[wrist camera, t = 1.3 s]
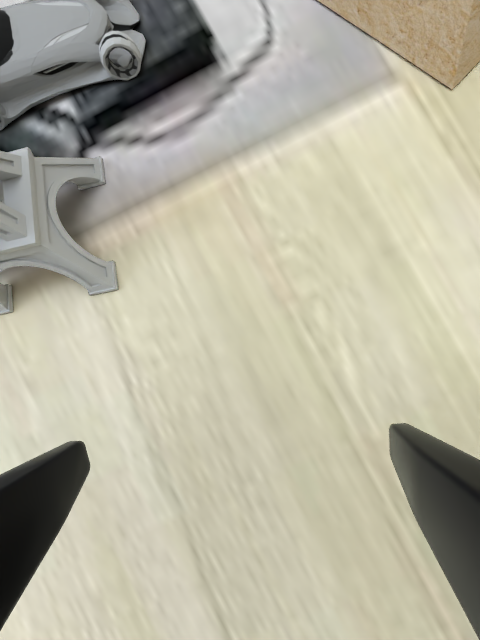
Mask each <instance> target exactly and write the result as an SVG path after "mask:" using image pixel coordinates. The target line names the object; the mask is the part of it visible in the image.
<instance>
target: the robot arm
mask: <svg viewBox="0 0 480 640" xmlns="http://www.w3.org/2000/svg"><path fill="white" fill-rule="evenodd" d="M389 442H390V456H391V460H392V462H393V465H394V467H395V470H396V472H397V475H398V477H399V480H400V482H401V485H402V487H403V490H404V492H405V495H406V497H407V499H408V502H409V504H410V507H411V509H412V512H413V514H414V516H415V518H416V520H417V522H418V524H419V526H420V528H421V530H422V532H423V534H424V536H425V538H426V540H427V542H428V544H429V545H430V547H431V549H432V551H433V553H434V555H435V557H436V559H437V561H438V562H439V564H440V566H441V568H442V570H443V572H444V574H445V576H446V578H447V580H448V581H449V583H450V585H451V587H452V589H453V591H454V593H455V595H456V597H457V598H458V600H459V602H460V604H461V606H462V608H463V610H464V612H465V614H466V616H467V617H468V619H469V621H470V623H471V625H472V627H473V629H474V631H475V633H476V634H477V636H478V638H479V640H480V460H479V459H477V458H475V457H473V456H471V455H469V454H467V453H465V452H463V451H461V450H459V449H457V448H455V447H453V446H451V445H449V444H447V443H445V442H443V441H441V440H439V439H437V438H435V437H433V436H431V435H429V434H427V433H425V432H423V431H421V430H419V429H417V428H415V427H413V426H411V425H409V424H406V423H401V424H391V425H390V428H389ZM89 470H90V462H89V458H88V454H87V451H86V447H85V444H84V443H83V442H82V441H70V442H67V443H65V444H63V445H61V446H59V447H56V448H54V449H52V450H50V451H48V452H46V453H44V454H42V455H40V456H38V457H36V458H34V459H32V460H30V461H28V462H25V463H23V464H21V465H19V466H17V467H15V468H13V469H11V470H9V471H7V472H5V473H3V474H1V475H0V631H1V629H2V627H3V625H4V624H5V622H6V620H7V619H8V617H9V615H10V614H11V612H12V610H13V609H14V607H15V605H16V604H17V602H18V600H19V598H20V597H21V595H22V593H23V592H24V590H25V588H26V587H27V585H28V583H29V582H30V580H31V578H32V577H33V575H34V573H35V572H36V570H37V568H38V566H39V565H40V563H41V561H42V560H43V558H44V556H45V555H46V553H47V551H48V550H49V548H50V546H51V545H52V543H53V541H54V540H55V538H56V536H57V534H58V533H59V531H60V529H61V528H62V526H63V524H64V522H65V520H66V518H67V516H68V514H69V512H70V510H71V508H72V506H73V504H74V502H75V500H76V498H77V496H78V494H79V492H80V490H81V488H82V486H83V484H84V482H85V480H86V477H87V475H88V473H89Z"/></svg>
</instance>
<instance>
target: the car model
mask: <svg viewBox="0 0 480 640" xmlns="http://www.w3.org/2000/svg"><path fill="white" fill-rule="evenodd" d="M138 23H139V14H138V12H137V11H136V10H135V8H134V7H133V5H132V4H131V2H130V1H129V0H33V1H27V2H22V3H19V4H15V5H11V6H7V7H3V8H0V130H2V129H3V128H5V127H6V126H7V125H8V124H9V123H10V122H12V121H13V120H15V119H16V118H17V117H19V116H20V115H22V114H23V113H24V112H26V111H27V110H29V109H30V108H31V107H33V106H36V105H38V104H40V103H42V102H44V101H47V100H49V99H51V98H53V97H55V96H58V95H60V94H62V93H65V92H68V91H71V90H75V89H78V88H81V87H84V86H87V85H90V84H95V83H100V82H104V81H109V80H130V79H132V78H134V77H136V76H137V74H138V73H139V71H140V67H141V62H142V57H143V53H144V49H145V42H146V40H145V38H144V36H143V34H141V33H139V32H137V31H134V30H131V29H132V28H134V27H135V26H136V25H137V24H138Z"/></svg>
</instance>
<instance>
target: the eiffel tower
mask: <svg viewBox="0 0 480 640" xmlns="http://www.w3.org/2000/svg"><path fill="white" fill-rule="evenodd" d="M65 182H71V183H74V184H77V188H78V189H79V190H83V189H87V188H91V187H95V186H99V185H103V184H106V183H105V174H104V166H103V159H102V158H101V157H96V158H52V157H34V156H33V154H32V152H31V150H30V149H29V148H28V147H26V148H22V149H19V150H15V151H11V152H8V153H6V152H2V151H0V271H2V270H4V269H7V268H10V267H15V266H33V267H40V268H44V269H48V270H51V271H55V272H57V273H60V274H62V275H65V276H67V277H69V278H71V279H73V280H74V281H76V282H78V283H79V284H81V285H82V286H83V287H85V288H86V289H87V290H88V293H89V295H95V294H100V293H105V292H110V291H114V290H118V282H117V274H116V265H115V262H114V261H109V262H107V261H104V260H101V259H99V258H97V257H95V256H93V255H92V254H90V253H89V252H87V251H86V250H84V249H83V248H82V247H80V246H79V245H78V244H77V243H76V242H75V241H74V240H73V239H72V238H71V237H70V235H69V234H68V233H67V232H66V230H65V229H64V227H63V225H62V224H61V222H60V220H59V217H58V214H57V210H56V195H57V192H58V190H59V188H60V187H61V185H62V184H63V183H65ZM11 312H13V300H12V286H11V285H9V284H6V285H3V284H1V283H0V315H1V314H6V313H11Z"/></svg>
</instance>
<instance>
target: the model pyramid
mask: <svg viewBox="0 0 480 640" xmlns="http://www.w3.org/2000/svg"><path fill="white" fill-rule="evenodd" d="M318 1H319V2H321V3H322V4H324V5H325V6H327V7H328V8H330V9H331V10H333V11H334V12H336V13H337V14H339V15H340V16H342V17H343V18H345V19H346V20H348V21H349V22H351V23H352V24H354V25H355V26H357V27H359V28H360V29H362V30H363V31H365V32H366V33H368V34H369V35H371V36H372V37H374V38H375V39H377V40H378V41H380V42H381V43H383V44H384V45H386V46H387V47H389V48H390V49H392V50H393V51H395V52H396V53H398V54H399V55H401V56H402V57H404V58H405V59H407V60H408V61H410V62H411V63H413V64H414V65H416V66H417V67H419V68H420V69H422V70H423V71H425V72H426V73H428V74H429V75H431V76H432V77H434V78H435V79H437V80H438V81H440V82H442V83H443V84H445V85H446V86H448V87H449V88H451V89H453V88H454V87H455V86H456V85H457V84H458V83H459V82H460V81H461V80H462V79H463V78H464V77H465V76H466V75H467V74H468V73H469V72H470V71H471V70H472V69H473V68H474V67H475V66H476V64H477V63H478V62H479V61H480V0H318Z"/></svg>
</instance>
